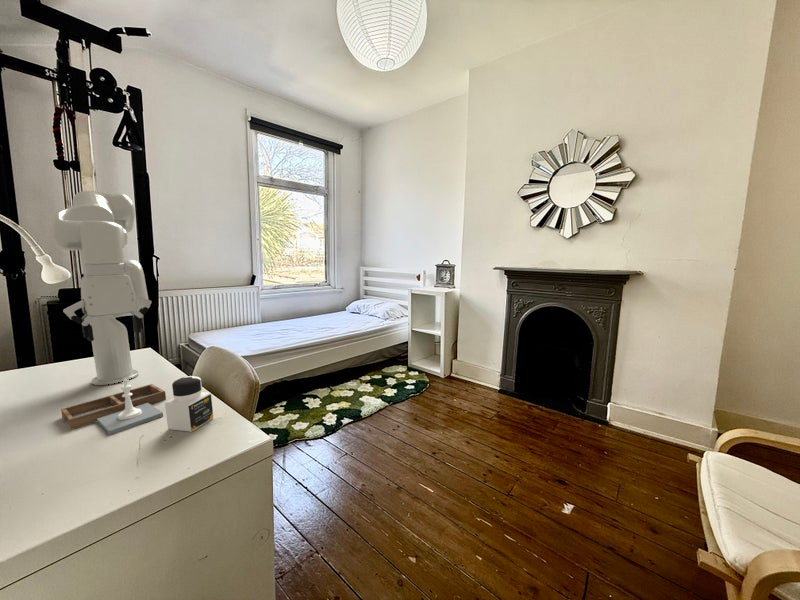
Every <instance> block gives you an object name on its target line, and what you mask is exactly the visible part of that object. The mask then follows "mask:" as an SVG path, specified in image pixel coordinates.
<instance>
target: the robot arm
mask: <svg viewBox="0 0 800 600" xmlns="http://www.w3.org/2000/svg"><path fill="white" fill-rule="evenodd" d="M135 217H136V209H135V205H134V202H133V201H132V199H131V198H130V197H129V196H128V195H126V194H124V193H118V192H108V191H106V192H105V191H98V190H97V191H96V190H83V191H79V192H77V193H76V194H74V196H73V197H72V206H68V207H66V208H65V209H62V210H59V211H58V212H56V213H55V214H54V215H53V218H52V222H51V233H52V238H53V241H54V243H55V244H56V246H57V247H58V248H60V249H62V250H66V251H79V253H80V259H81V265H82V273H83V276H82V277H81V280H80V281H81V282H80V283H81V284H80V296H81V297H80V299H81V300H80V301H77V302H76V303H74V304H71V305H69V306H67V307H66V308H63V310H62V311H63V313H64V314H65V315H66V317H68V318H69V319H70V320H71V321H73V322H75V323H77V324H79V325H81V331H82V336H83V338H84V339H87V341H89V342H91V345H92V352H93V358H94V365H95V374H96V376H95V377H94V378H92V379H91V380H90V381H91V384H92V385H93V384H94V386H108V384H109V385H115V384H119V383H118V382H120V383H122V381H123V382H124V379H127V380H129V379H130V380H132V379H134V378H136V377H138V376H139V374H138V373H139V370H137V369H133V364H132V356H131V350H130V343H129V335H128V330H127V327H126V326H125V324H123V323H122V322H120V321H119V320H117V319H116V318H121V317H126V316H127V317H128V316H133V317H132V325H133V331H134V332H135V333H138V334H139V333H142V329H144V327H143V318H144V316H145V315H146V313H147V312H148V311H149V308H150V307H151V304H152V300H150V299H149V295H148V289H147V284H146V278H145V273H144V270H143V267H142V264H141V263H140V262H139V261H137V260H135V259H124V252H123V249H124V248H125V247H126V245H127V244H129V243H128V242H129V241H128V240H129V238H128V233H130V232H131V231H133V228H134V223H135ZM80 309H81V310H82V313H83V314H84V315H83V316H82V317H80V316H78V315H77V314H76V313H75V312H76V311H77V310H80ZM137 375H138V376H137ZM131 378H132V379H131ZM130 380H129V381H130ZM114 383H115V384H114Z"/></svg>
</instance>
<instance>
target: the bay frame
mask: <svg viewBox="0 0 800 600" xmlns="http://www.w3.org/2000/svg"><path fill="white" fill-rule="evenodd" d="M149 392H151V393H149ZM129 393H132V394H133V395H131V396H130V399H132V400H131V402H132V405H133V407H135V406H138V405H142V404H145V403H149V404H151V405H153V404H155V402H156V403H159V402H161V400H162V401H165V400H167V398H166V397H167V396H166V395H167V393H166V391H165V390H164V389H162V388H160V387H158V386H156V385H154V384H153V383H150V384H147V385H142V386H139V387H136V388H132V389H130V392H129ZM147 393H148V394H149V395H148V394H147ZM152 393H153V394H152ZM124 394H125V393H124V392H123V391H121V392H118V393H114V394H111V395H107V396H104V397H99V398H97V399H96V398H95V399H93V400H90V401H89V400H88V401H85V402H83V403H79V404H74V405H71V406H68V407H64V408H61V409H60V412H61V418H62V419H63V421H64V423H66V425H67V426H68V427H69V428H70V429H71V430H73V429H77V428H81V427H83V426H86V425H89V424H93V423H96V422H97V418H100V417H103V416H106V415H110V414H113V413H116V412H119V411H122V410H125V397H122V395H124ZM144 394H145V395H144ZM141 395H142V397H141ZM137 397H139V398H137ZM164 399H165V400H164ZM158 401H159V402H158ZM152 403H153V404H152ZM106 406H107V407H106ZM108 406H109V407H108ZM105 407H106V408H105ZM101 408H102V409H101ZM97 409H99V410H97ZM95 410H96V411H95ZM87 412H89V413H87ZM83 413H84V414H83ZM80 414H82V415H80ZM78 415H79V416H78ZM73 416H75V417H73Z"/></svg>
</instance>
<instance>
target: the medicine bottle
mask: <svg viewBox="0 0 800 600" xmlns="http://www.w3.org/2000/svg"><path fill="white" fill-rule="evenodd" d="M171 386H172V387H171V389H172V395H173V398H171V399H169V400H167V401H165V402H164V408H165V415H166V423H167V429H168V430H172V431H181V432H188V433H189V432H190V433H192V432H194V431H195V430H197V429H199V428H200V427H201V426H203V425H205V424H206V423H209V422H210V421H211V420H212V418H213V419H214V409H213V401H212V400H213V399H212V393H211V392H207V391H205V392H204V391H203V388H202V378H201V377H199V376H196V375H195V376H193V375H189V376H184V377H180V378H178V379H176V380H174V381H173V382H172V385H171Z"/></svg>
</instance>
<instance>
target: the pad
mask: <svg viewBox="0 0 800 600" xmlns="http://www.w3.org/2000/svg"><path fill="white" fill-rule="evenodd" d="M134 408H138V409H141V411H142V413H141V414H140V415H138V416H136V417H134V418H131V419H126V420H119V419H118V415H119V414H120V413H121V412H123V411H124V410H122V411H119V412H116V413H113V414H110V415H106V416H103V417H100V418H97V421H96V422H97V424H98V425H99V426H100V427H101V428H102V429H104V431H105V432H106V433H107V434H108V435H109V436H111V435H113V434H116V433H119V432H122V431H125V430H128V429H130V428H133V427H137V426H139V425H142V424H144V423H147V422H151V421H153V420H156V419H160V418H162V417H164V412H163V411H161V410H160V409H158V408H157V407H155V406H153V404H149V403H145V404H142V405H138V406H135V407H134Z"/></svg>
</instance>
